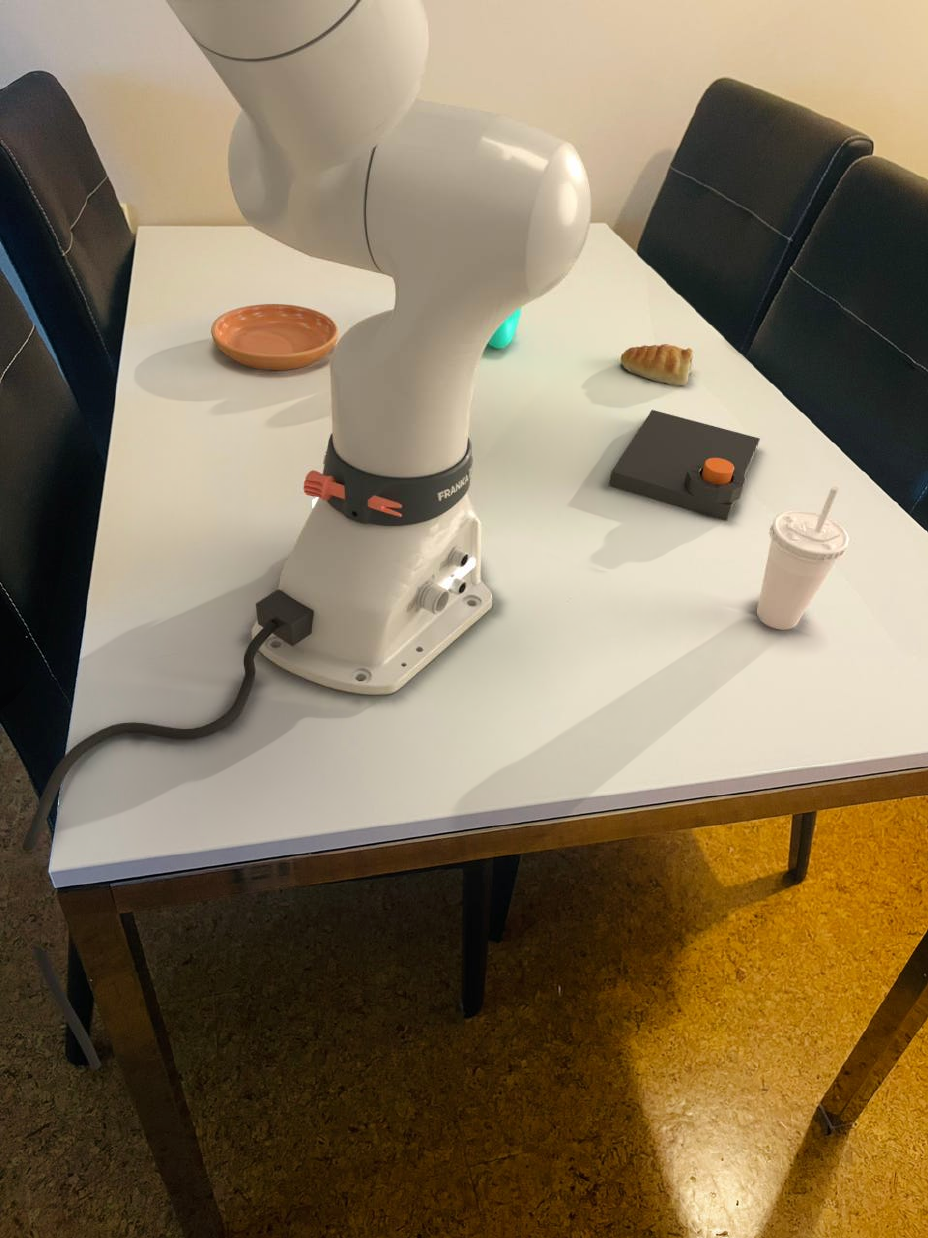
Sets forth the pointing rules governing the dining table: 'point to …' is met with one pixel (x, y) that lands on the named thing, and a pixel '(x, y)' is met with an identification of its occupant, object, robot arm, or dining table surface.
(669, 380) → the pastry
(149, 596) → the dining table surface
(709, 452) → the scale
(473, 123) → the robot arm
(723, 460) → the button
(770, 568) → the smoothie
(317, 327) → the saucer
